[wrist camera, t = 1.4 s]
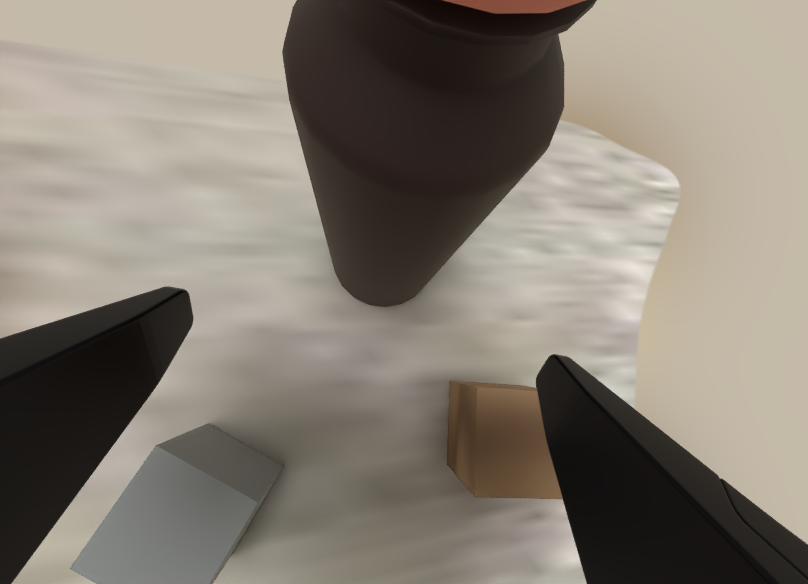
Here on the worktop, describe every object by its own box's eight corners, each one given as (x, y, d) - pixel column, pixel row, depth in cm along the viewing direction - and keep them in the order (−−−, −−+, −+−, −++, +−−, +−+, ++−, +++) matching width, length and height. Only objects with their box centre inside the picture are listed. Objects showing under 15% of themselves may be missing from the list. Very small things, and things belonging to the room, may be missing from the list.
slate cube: (231, 554, 17) (181, 630, 12) (150, 510, 17) (69, 568, 12) (284, 465, 19) (257, 502, 14) (209, 423, 18) (156, 445, 14)
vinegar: (312, 248, 21) (-135, -848, 2) (391, 196, 23) (573, -689, 4) (373, 328, 21) (585, -98, 1) (450, 269, 22) (1039, -307, 3)
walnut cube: (521, 466, 20) (572, 499, 16) (446, 463, 20) (475, 497, 15) (521, 385, 21) (568, 393, 17) (449, 381, 21) (476, 387, 16)
